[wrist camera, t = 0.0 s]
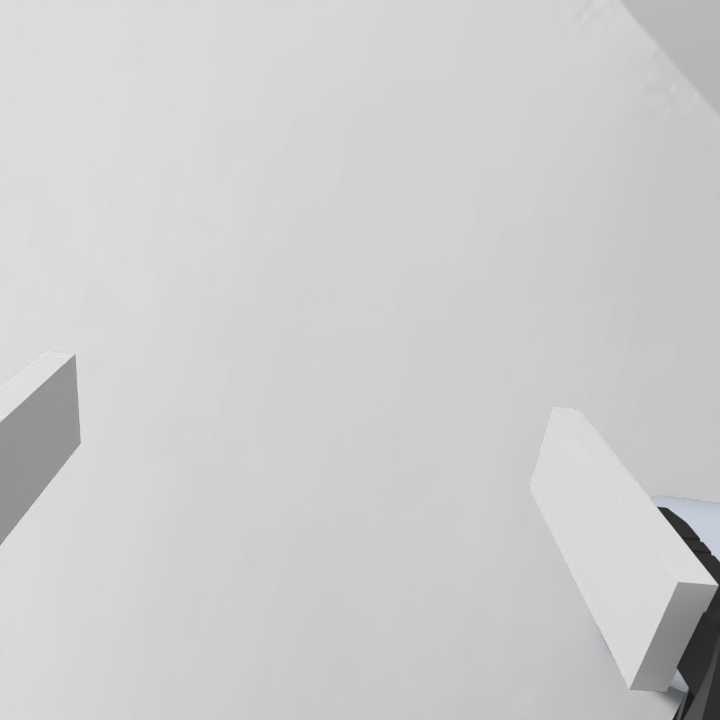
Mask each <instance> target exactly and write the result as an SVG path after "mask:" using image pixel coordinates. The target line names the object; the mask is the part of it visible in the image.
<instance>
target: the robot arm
mask: <svg viewBox="0 0 720 720" xmlns="http://www.w3.org/2000/svg"><path fill="white" fill-rule="evenodd" d="M80 443H81V441H80V425H79V408H78V391H77V375H76V358H75V354H71V353H62V352H53V351H44V352H43V353H42V354H41V355H39V356H38V357H37V358H36V359H34V360H33V361H32V362H31V363H29V364H28V365H27V366H26V367H24V368H23V369H22V370H21V371H20V372H18V373H17V374H16V375H15V376H13V377H12V378H11V379H10V380H8V381H7V382H6V383H5V384H3V385H2V386H1V387H0V545H1V544H2V542H3V541H4V540H5V539H6V537H7V536H8V535H9V533H10V532H11V531H12V530H13V528H14V527H15V526H16V525H17V523H18V522H19V521H20V519H21V518H22V517H23V516H24V514H25V513H26V512H27V511H28V509H29V508H30V507H31V506H32V504H33V503H34V502H35V500H36V499H37V498H38V497H39V495H40V494H41V493H42V492H43V490H44V489H45V488H46V486H47V485H48V484H49V483H50V481H51V480H52V479H53V478H54V476H55V475H56V474H57V473H58V471H59V470H60V469H61V467H62V466H63V465H64V464H65V462H66V461H67V460H68V459H69V457H70V456H71V455H72V453H73V452H74V451H75V450H76V448H77V447H78V446H79V445H80ZM529 488H530V490H531V492H532V494H533V496H534V498H535V500H536V502H537V504H538V506H539V508H540V510H541V512H542V514H543V516H544V518H545V520H546V522H547V524H548V526H549V528H550V530H551V532H552V534H553V537H554V539H555V541H556V543H557V545H558V547H559V549H560V551H561V553H562V555H563V557H564V559H565V561H566V563H567V565H568V567H569V569H570V571H571V573H572V575H573V577H574V579H575V581H576V583H577V585H578V587H579V589H580V591H581V593H582V595H583V597H584V599H585V601H586V603H587V605H588V607H589V609H590V611H591V613H592V615H593V617H594V619H595V621H596V623H597V625H598V627H599V629H600V631H601V633H602V635H603V637H604V639H605V641H606V643H607V645H608V647H609V649H610V651H611V653H612V655H613V657H614V659H615V661H616V663H617V665H618V667H619V670H620V672H621V674H622V676H623V678H624V680H625V682H626V684H627V686H628V688H629V689H631V690H645V691H659V692H667V690H668V688H669V686H670V684H671V682H672V680H673V678H674V676H675V674H676V672H677V670H678V671H679V673H680V674H681V676H682V678H683V679H684V681H685V683H686V684H687V686H688V690H687V692H686V694H685V696H684V698H683V700H682V702H681V704H680V706H679V708H678V710H677V712H676V714H675V716H674V718H673V720H720V562H719V560H718V559H717V558H716V557H715V556H714V555H711V551H710V550H709V548H708V547H707V546H706V545H705V544H704V542H701V541H700V538H699V536H698V535H697V534H696V533H695V532H694V530H693V529H692V528H691V527H690V526H689V524H688V523H687V522H685V521H684V520H683V519H681V518H680V517H679V516H677V515H676V514H675V513H673V512H672V511H671V510H669V509H668V508H666V507H656V506H655V504H654V503H653V502H652V501H651V499H650V498H649V497H648V495H647V494H646V493H645V492H644V490H643V489H642V488H641V487H640V485H639V484H638V483H637V482H636V480H635V479H634V478H633V477H632V475H631V474H630V473H629V472H628V470H627V469H626V468H625V467H624V465H623V464H622V463H621V461H620V460H619V459H618V458H617V456H616V455H615V454H614V453H613V451H612V450H611V449H610V448H609V446H608V445H607V444H606V443H605V441H604V440H603V439H602V438H601V436H600V435H599V434H598V432H597V431H596V430H595V429H594V427H593V426H592V425H591V424H590V422H589V421H588V420H587V419H586V417H585V416H584V415H583V414H582V412H581V411H580V410H578V409H569V408H560V407H553V410H552V413H551V416H550V420H549V423H548V426H547V430H546V433H545V436H544V440H543V443H542V446H541V450H540V453H539V456H538V460H537V463H536V466H535V470H534V473H533V476H532V480H531V483H530V486H529Z"/></svg>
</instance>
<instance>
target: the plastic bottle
mask: <svg viewBox="0 0 720 720" xmlns="http://www.w3.org/2000/svg"><path fill="white" fill-rule="evenodd" d="M650 499H651V501H652V502H653V503H654V504H655V506H656V507H666V508H668V509H669V510H671V511H672V512H673V513H675V514H676V515H677V516H679V517H680V518H681V519H683V520H684V521H685V522H687V523H688V524H689V526H690V527H691V528H692V529H693V530H694V532H695V533H696V534H697V535H698V536H699V538H700V541H701V542H704V544H705V545H706V546H707V547H708V548H709V550H710V551H711V555H714V556H715V557H716V558H717V559H718V560H719V562H720V503H715V502H708V501H700V500H692V499H685V498H677V497H669V496H656V497H651V498H650ZM602 636H603V635H602ZM603 639H604V637H603ZM604 641H605V639H604ZM605 643H606V641H605ZM606 645H607V643H606ZM607 647H608V645H607ZM608 648H609V647H608ZM609 650H610V649H609ZM670 686H671V687H673V688H675V689H678V690H680V691H682V692H685V693H686V692H687V690H688V686H687V684H686V683H685V681H684V679H683V678H682V676H681V674H680V673H679V671H678V670H677V672H676V674H675V676H674V678H673V680H672V682H671V684H670Z"/></svg>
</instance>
